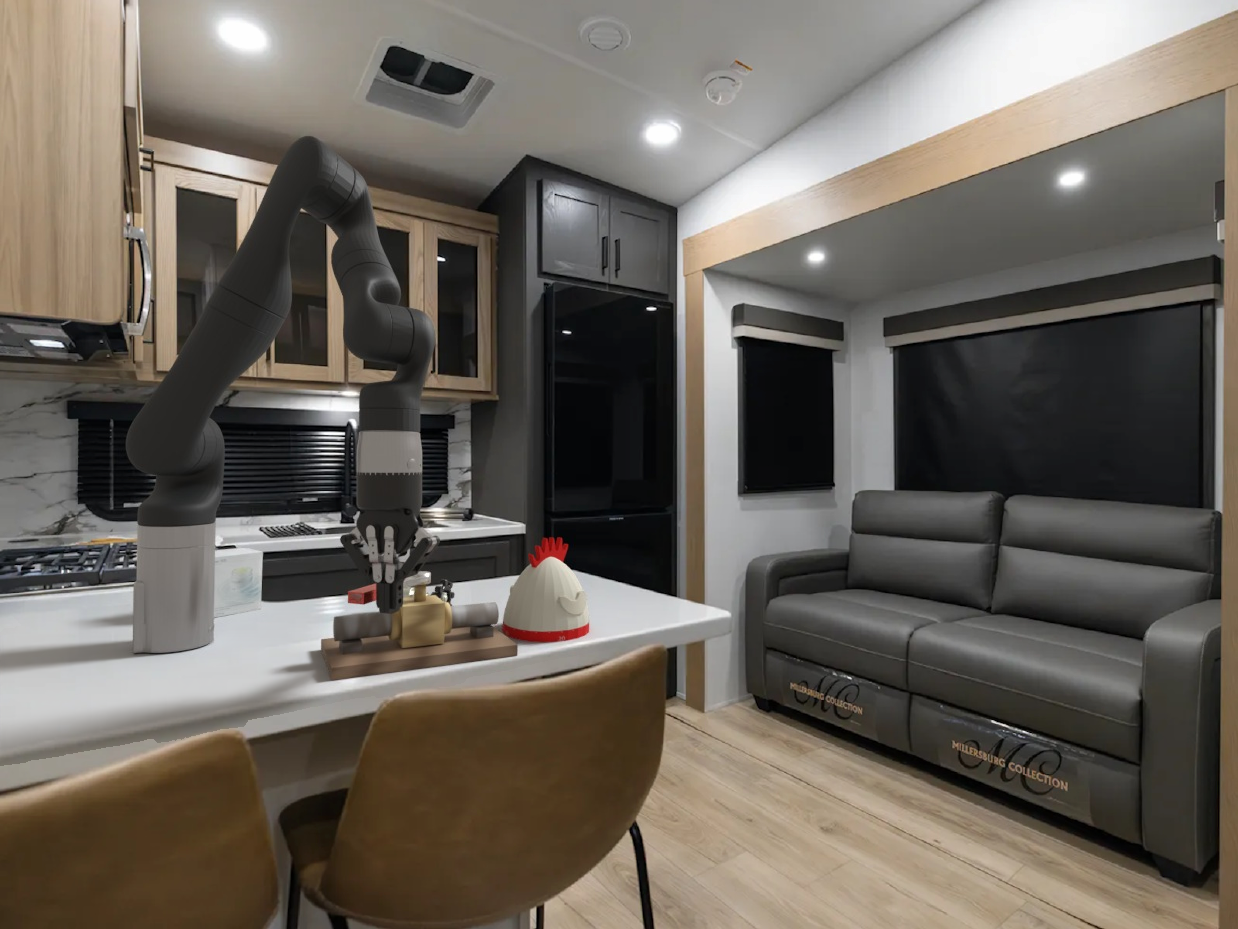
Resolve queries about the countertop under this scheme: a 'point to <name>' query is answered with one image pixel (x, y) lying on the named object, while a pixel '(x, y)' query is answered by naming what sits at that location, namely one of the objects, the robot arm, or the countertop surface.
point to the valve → (438, 592)
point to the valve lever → (369, 592)
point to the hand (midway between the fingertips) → (389, 612)
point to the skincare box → (237, 581)
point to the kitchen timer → (547, 599)
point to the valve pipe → (414, 637)
